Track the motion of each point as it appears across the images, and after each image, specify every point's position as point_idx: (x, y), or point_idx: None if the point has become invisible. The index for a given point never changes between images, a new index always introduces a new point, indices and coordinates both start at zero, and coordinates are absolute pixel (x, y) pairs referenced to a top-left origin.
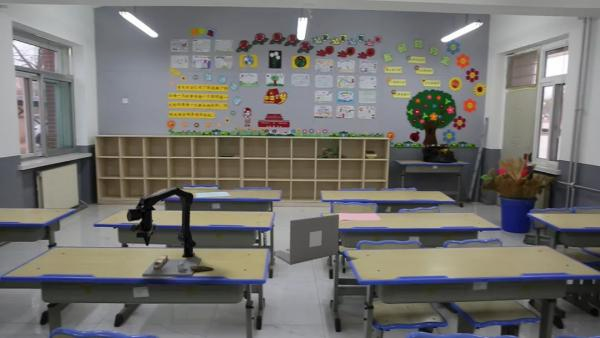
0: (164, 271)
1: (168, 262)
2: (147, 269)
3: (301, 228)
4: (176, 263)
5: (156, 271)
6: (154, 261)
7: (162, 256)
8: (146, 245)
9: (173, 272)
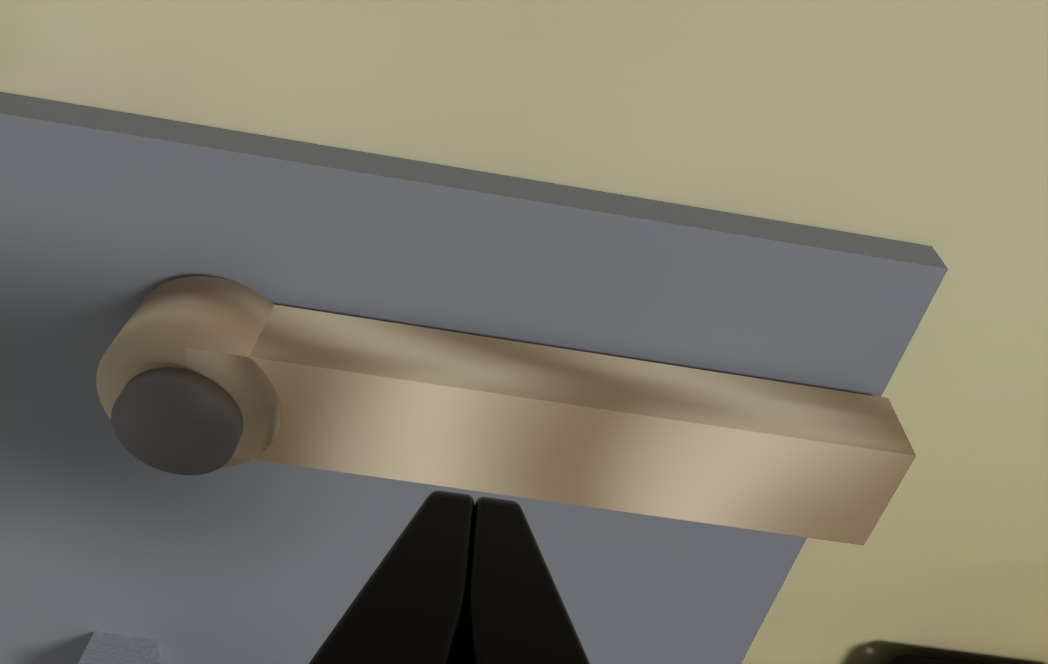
0: (48, 473)
1: None
2: (120, 150)
3: None
4: None
5: (21, 348)
6: (736, 243)
7: (798, 462)
8: (423, 517)
9: (25, 587)
